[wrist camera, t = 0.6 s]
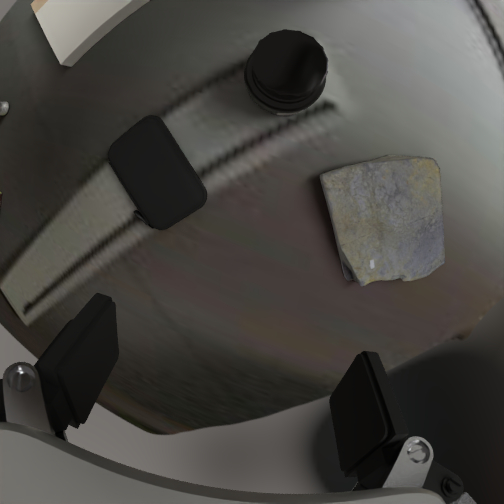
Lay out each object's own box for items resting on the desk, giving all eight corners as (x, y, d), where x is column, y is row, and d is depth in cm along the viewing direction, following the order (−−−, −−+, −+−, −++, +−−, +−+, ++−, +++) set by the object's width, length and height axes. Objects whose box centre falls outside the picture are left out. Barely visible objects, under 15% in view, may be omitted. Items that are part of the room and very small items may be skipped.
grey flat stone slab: (346, 290, 45) (438, 262, 41) (351, 306, 40) (450, 274, 36) (315, 169, 38) (422, 143, 34) (319, 174, 34) (437, 145, 30)
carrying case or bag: (104, 154, 36) (155, 234, 41) (93, 156, 33) (148, 242, 38) (159, 110, 34) (214, 197, 38) (151, 108, 31) (211, 202, 36)
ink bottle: (291, 131, 34) (304, 129, 23) (232, 96, 33) (218, 79, 22) (329, 74, 31) (358, 51, 20) (272, 40, 29) (275, 3, 18)
